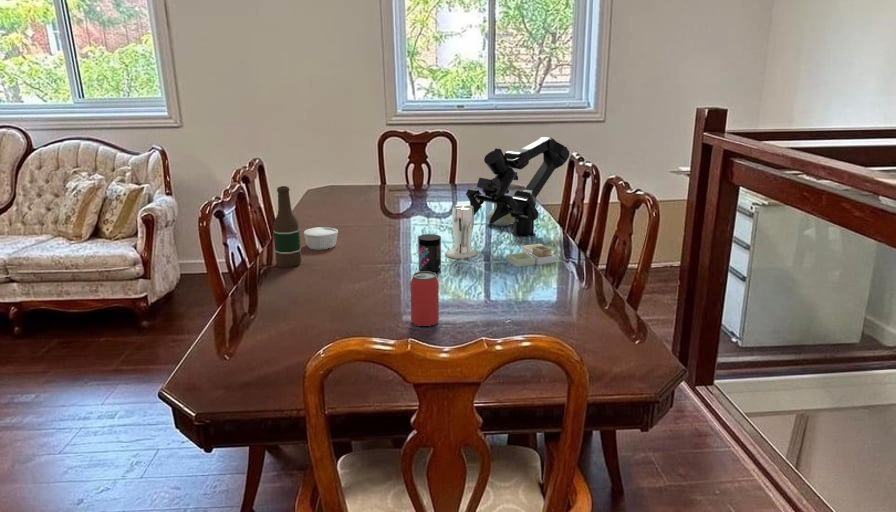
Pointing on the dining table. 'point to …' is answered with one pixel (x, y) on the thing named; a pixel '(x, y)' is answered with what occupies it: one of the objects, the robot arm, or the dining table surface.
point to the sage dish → (520, 259)
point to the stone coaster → (457, 256)
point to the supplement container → (429, 252)
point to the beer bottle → (286, 232)
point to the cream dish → (529, 248)
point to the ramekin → (321, 237)
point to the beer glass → (462, 228)
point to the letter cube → (541, 251)
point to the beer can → (424, 298)
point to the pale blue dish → (543, 259)
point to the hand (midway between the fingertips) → (479, 221)
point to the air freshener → (502, 221)
